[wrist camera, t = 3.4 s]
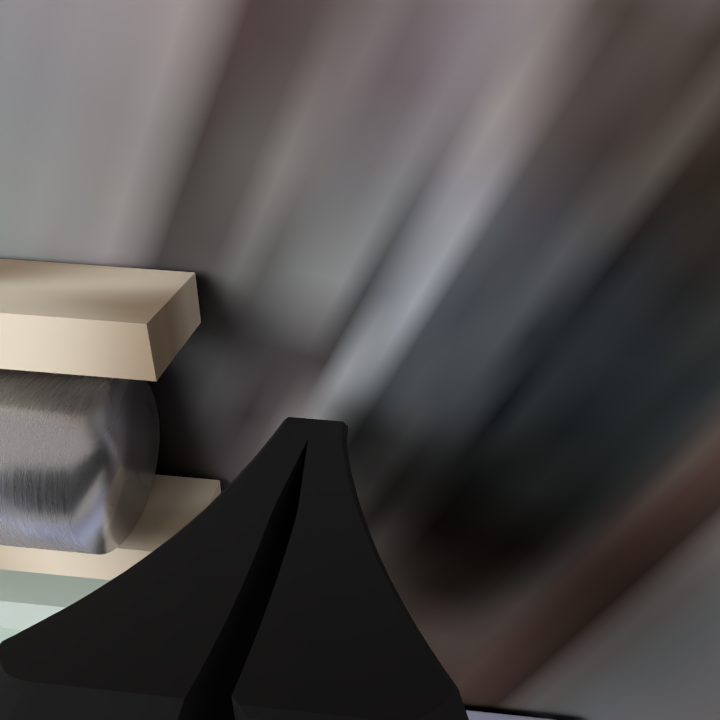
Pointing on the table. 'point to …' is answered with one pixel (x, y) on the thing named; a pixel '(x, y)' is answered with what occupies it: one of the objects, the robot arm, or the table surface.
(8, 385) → the axle
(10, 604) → the v block
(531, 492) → the table surface
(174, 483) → the parallel rails
